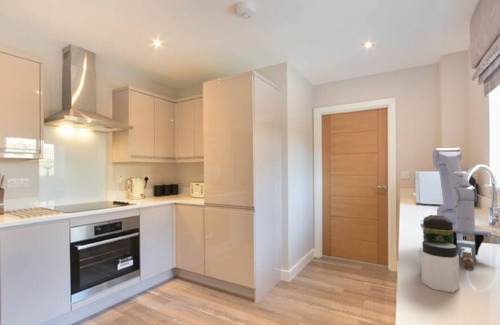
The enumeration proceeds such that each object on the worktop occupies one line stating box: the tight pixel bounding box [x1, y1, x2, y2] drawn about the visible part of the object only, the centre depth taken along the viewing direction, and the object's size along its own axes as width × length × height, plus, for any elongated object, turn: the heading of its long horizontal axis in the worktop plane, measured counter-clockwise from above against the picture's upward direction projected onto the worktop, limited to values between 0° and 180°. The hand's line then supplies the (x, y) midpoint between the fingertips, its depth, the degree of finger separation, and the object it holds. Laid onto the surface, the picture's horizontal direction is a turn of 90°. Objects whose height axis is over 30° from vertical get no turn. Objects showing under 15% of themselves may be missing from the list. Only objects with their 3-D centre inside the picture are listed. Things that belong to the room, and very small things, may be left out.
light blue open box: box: [457, 240, 477, 261], centre depth 100 cm, size 5×5×6 cm
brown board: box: [461, 251, 475, 270], centre depth 92 cm, size 12×2×3 cm, turn 143°
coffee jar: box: [422, 214, 453, 244], centre depth 84 cm, size 10×8×19 cm
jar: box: [420, 240, 461, 294], centre depth 75 cm, size 9×8×12 cm
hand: (466, 253), depth 100 cm, fingers closed on light blue open box, 5 cm apart
